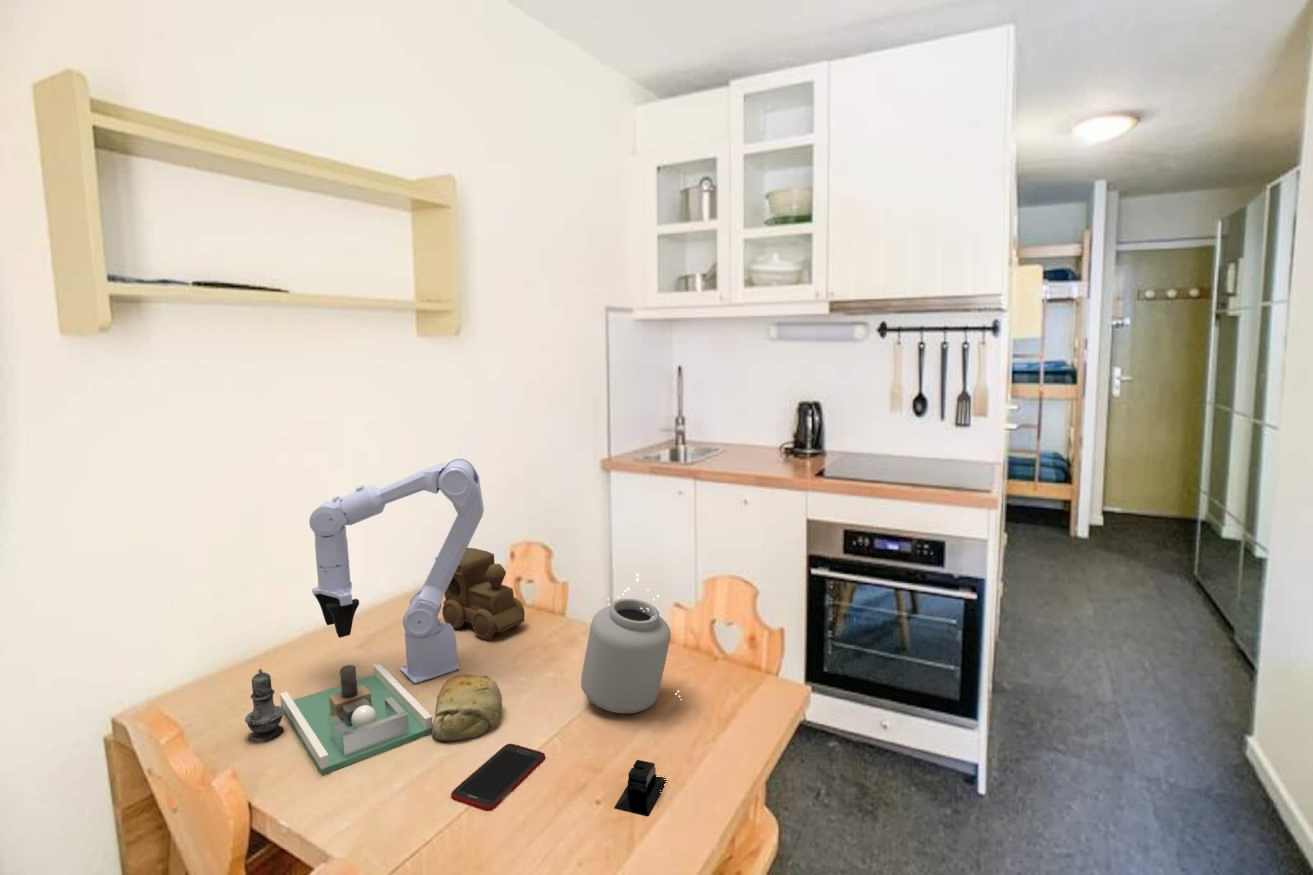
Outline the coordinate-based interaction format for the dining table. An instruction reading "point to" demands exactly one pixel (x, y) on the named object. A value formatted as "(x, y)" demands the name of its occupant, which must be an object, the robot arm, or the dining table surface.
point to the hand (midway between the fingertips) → (338, 629)
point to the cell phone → (497, 777)
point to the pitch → (315, 733)
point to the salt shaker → (264, 711)
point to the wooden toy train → (481, 596)
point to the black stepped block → (641, 789)
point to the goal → (370, 730)
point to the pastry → (466, 707)
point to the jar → (625, 656)
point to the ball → (363, 716)
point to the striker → (349, 695)
